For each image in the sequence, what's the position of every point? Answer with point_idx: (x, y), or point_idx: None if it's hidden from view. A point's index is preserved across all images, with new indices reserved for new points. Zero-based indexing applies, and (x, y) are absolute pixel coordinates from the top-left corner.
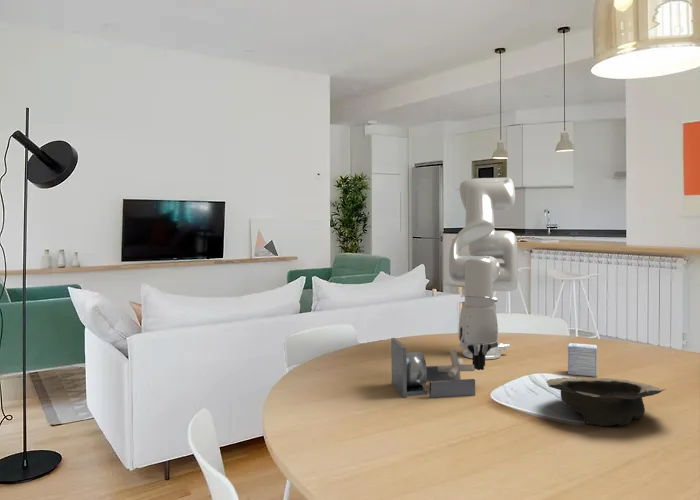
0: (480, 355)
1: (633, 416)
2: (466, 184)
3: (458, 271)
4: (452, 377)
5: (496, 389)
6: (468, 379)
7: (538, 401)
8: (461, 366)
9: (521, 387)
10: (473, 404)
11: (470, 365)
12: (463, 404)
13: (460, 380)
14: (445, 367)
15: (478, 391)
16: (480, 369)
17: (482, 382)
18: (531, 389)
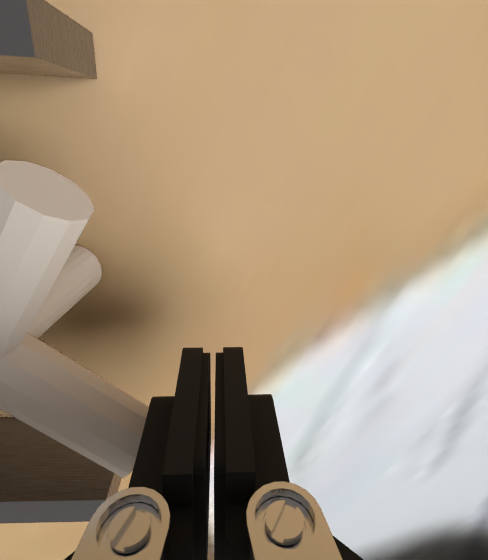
0: (220, 553)
1: None
2: None
3: None
4: (59, 73)
5: (295, 373)
6: (65, 506)
7: (373, 530)
8: (14, 413)
9: (452, 367)
10: (84, 527)
11: (100, 463)
12: (38, 523)
13: (1, 515)
14: None
15: (175, 386)
16: (210, 431)
17: (286, 221)
18: (473, 404)
